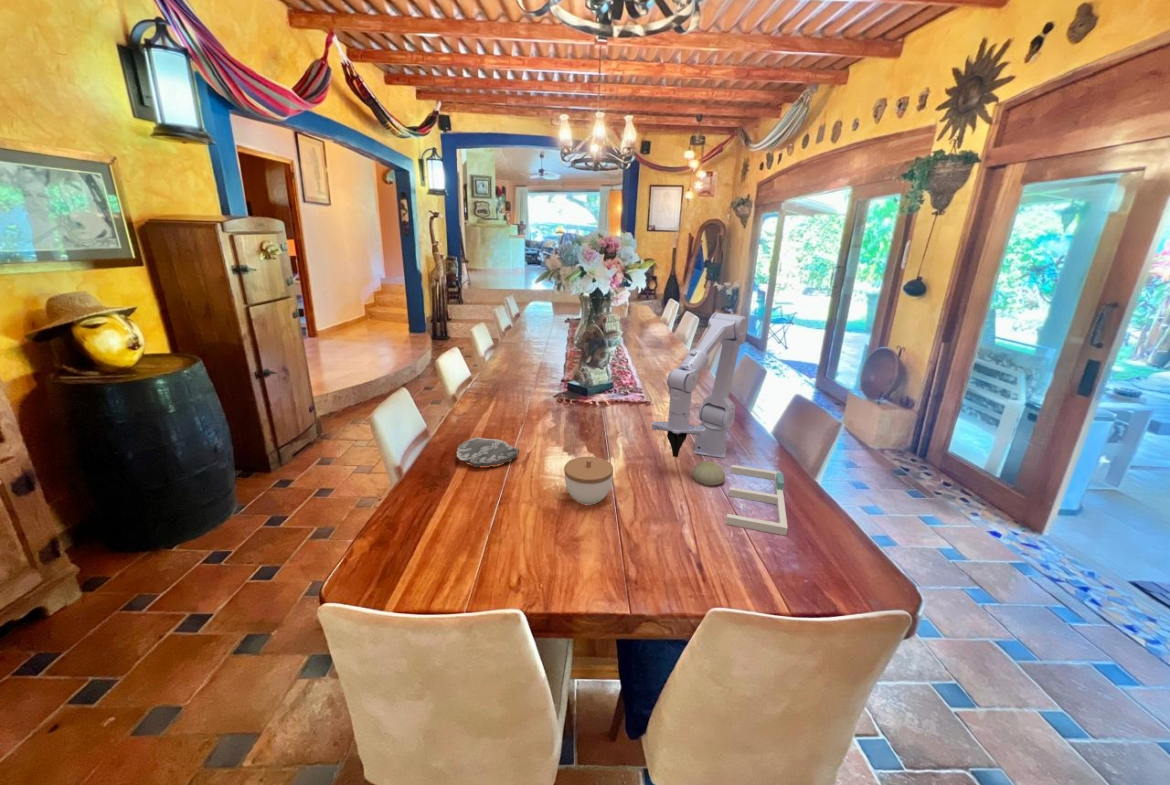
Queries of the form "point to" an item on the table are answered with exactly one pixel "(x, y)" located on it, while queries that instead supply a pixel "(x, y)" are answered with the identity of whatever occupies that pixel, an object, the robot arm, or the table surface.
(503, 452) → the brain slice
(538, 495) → the table surface
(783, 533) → the comb rack
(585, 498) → the lidded bowl
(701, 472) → the sea urchin shell
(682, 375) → the robot arm
